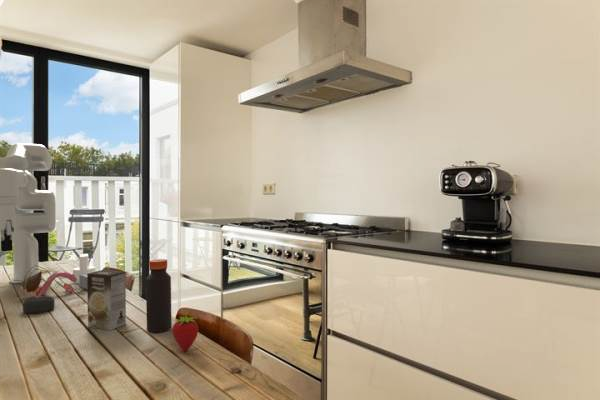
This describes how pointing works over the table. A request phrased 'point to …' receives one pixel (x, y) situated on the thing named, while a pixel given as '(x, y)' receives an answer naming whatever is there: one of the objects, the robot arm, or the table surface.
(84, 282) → the charging dock
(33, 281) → the anatomy model
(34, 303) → the smart speaker
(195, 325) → the strawberry
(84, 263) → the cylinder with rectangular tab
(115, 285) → the coffee box
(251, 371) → the table surface
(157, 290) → the bottle
